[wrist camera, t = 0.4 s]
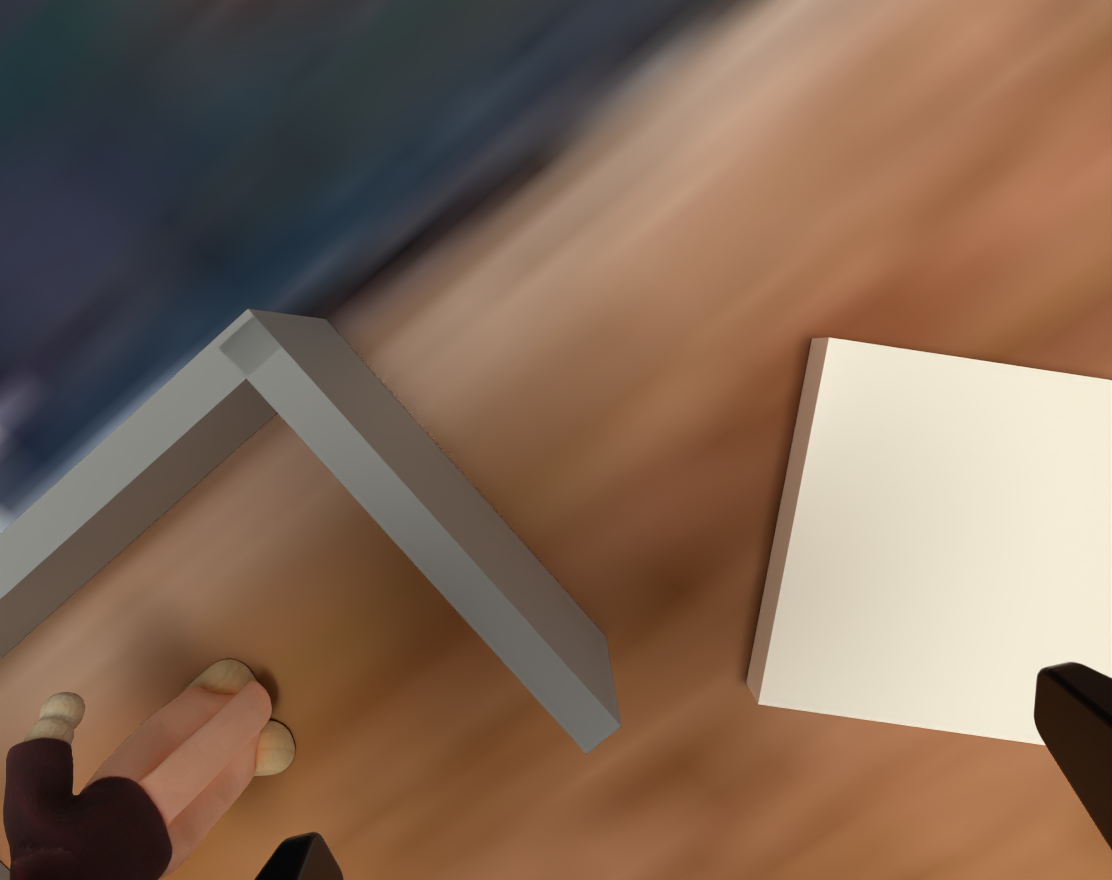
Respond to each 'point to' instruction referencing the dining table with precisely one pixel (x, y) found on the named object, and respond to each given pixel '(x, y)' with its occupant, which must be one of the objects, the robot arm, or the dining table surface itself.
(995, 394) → the ceramic tile
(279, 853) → the robot arm
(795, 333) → the dining table surface
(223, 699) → the grandmother figurine
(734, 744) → the dining table surface
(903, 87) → the dining table surface
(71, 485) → the open crate
